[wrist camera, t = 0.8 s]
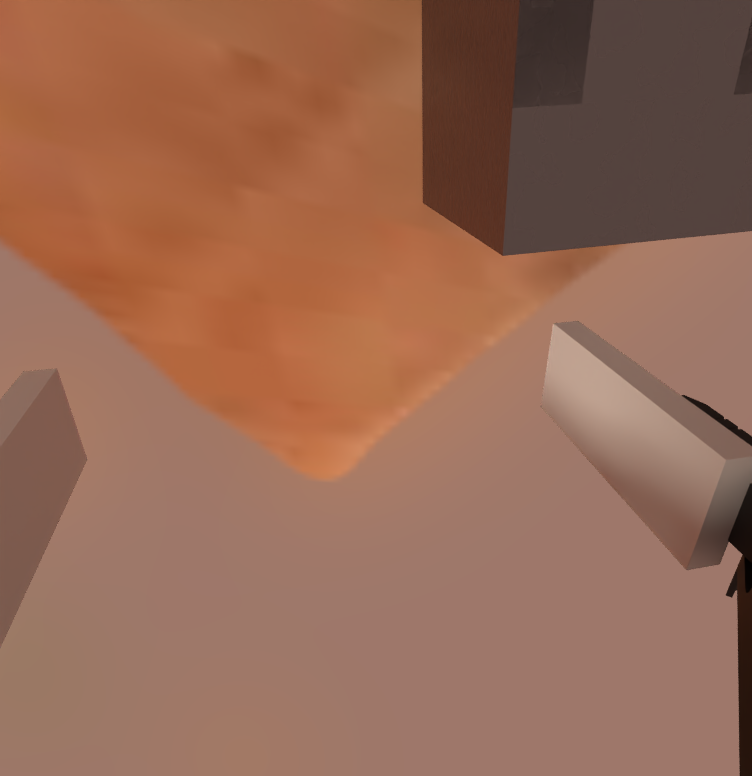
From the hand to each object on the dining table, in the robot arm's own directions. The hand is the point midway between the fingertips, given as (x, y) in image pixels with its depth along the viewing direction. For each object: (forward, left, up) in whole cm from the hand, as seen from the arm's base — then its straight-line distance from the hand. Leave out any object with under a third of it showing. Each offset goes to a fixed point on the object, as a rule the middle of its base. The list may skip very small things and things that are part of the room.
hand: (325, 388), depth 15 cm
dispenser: (-7, +16, -24) cm, 30 cm away
